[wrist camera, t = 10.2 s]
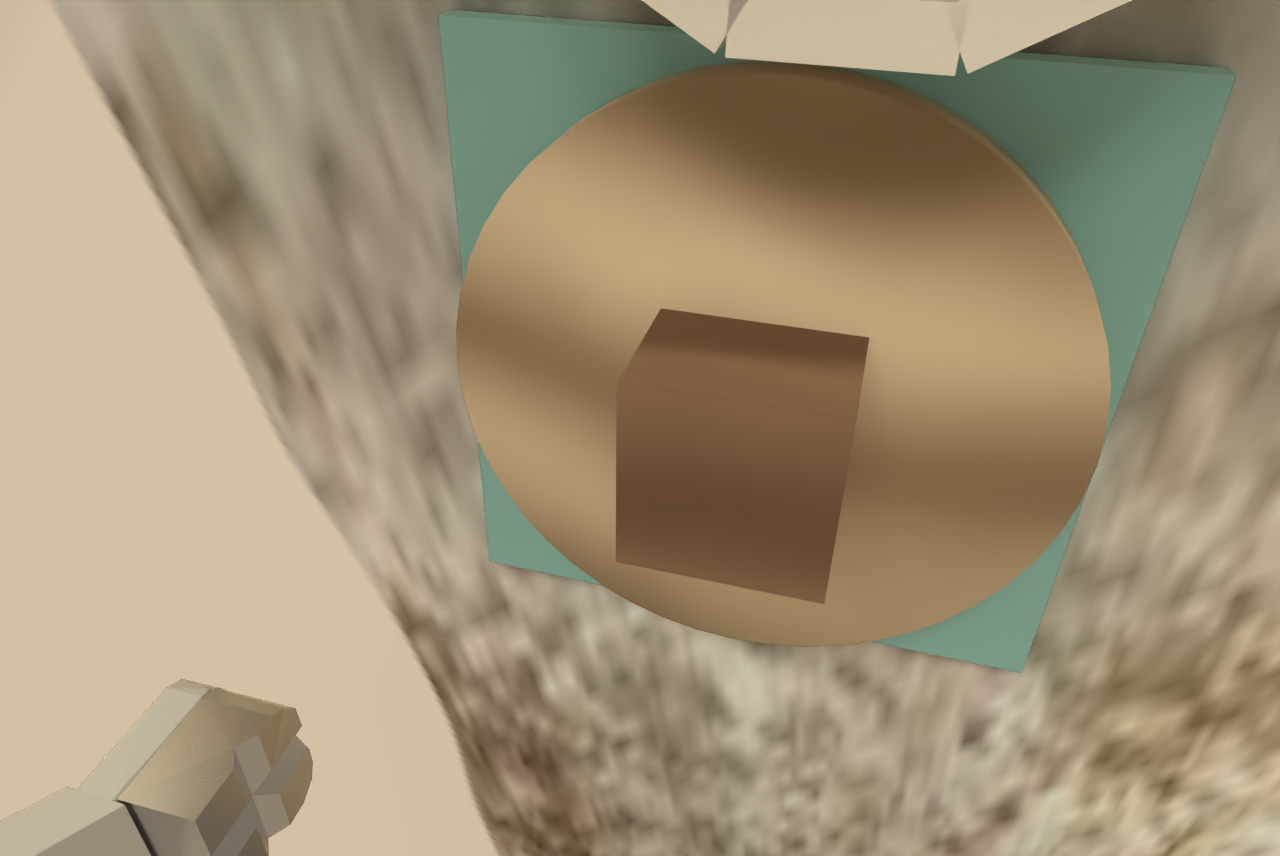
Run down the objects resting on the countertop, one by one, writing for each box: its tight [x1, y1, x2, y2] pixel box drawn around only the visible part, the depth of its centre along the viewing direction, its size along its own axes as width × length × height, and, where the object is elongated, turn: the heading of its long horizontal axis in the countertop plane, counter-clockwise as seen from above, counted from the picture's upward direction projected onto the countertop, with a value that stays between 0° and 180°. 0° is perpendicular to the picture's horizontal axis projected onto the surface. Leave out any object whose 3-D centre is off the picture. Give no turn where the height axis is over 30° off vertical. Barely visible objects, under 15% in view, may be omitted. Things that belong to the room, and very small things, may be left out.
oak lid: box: [456, 61, 1111, 647], centre depth 18 cm, size 13×13×4 cm
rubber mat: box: [438, 10, 1236, 673], centre depth 20 cm, size 14×14×1 cm
